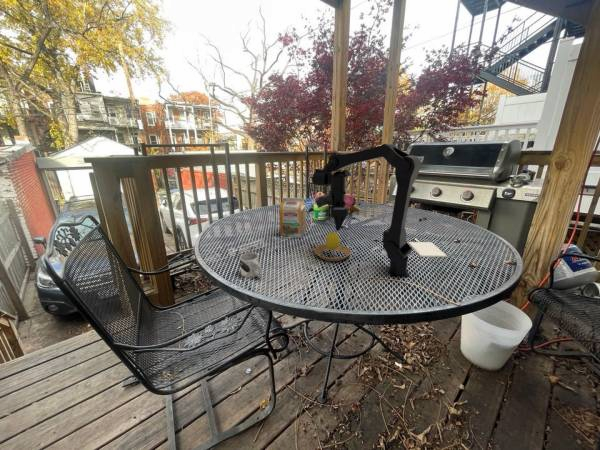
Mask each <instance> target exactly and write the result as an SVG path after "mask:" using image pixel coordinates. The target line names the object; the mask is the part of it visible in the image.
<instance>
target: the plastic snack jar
mask: <svg viewBox="0 0 600 450" xmlns="http://www.w3.org/2000/svg"><path fill="white" fill-rule="evenodd" d="M281 199H282V200H281V203H280V205H279V209H278V210H279V211H278V212H279V213H278V215H279V233H280V236H282V237H292V238H302V237H304V236H305V235H306V233H307V205H306V203H305V201H304V198H302V197H282V198H281ZM305 232H306V233H305ZM303 235H304V236H303ZM302 239H303V238H302Z"/></svg>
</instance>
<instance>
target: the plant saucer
mask: <svg viewBox="0 0 600 450" xmlns="http://www.w3.org/2000/svg"><path fill="white" fill-rule="evenodd" d="M325 251H332V250H331V249H329V248H328V247H327V245H326V243H325V244H320V245H318V246H316V247H315V248H314V253H315V255H317V256H318V258H320V259H322V260H324V261H326V262H340V261H344V260H345V259H347V258H349V256H350V255H351V253H352V251H351V249H350V248H349V247H347V246H345V245H343V244H339V246H338V248H336V249H334V250H333V251H339V252H340V253H341V252H342V253H343V254H345V256H342V257H326V256H322V255H321V253H322V252H325Z"/></svg>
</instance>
